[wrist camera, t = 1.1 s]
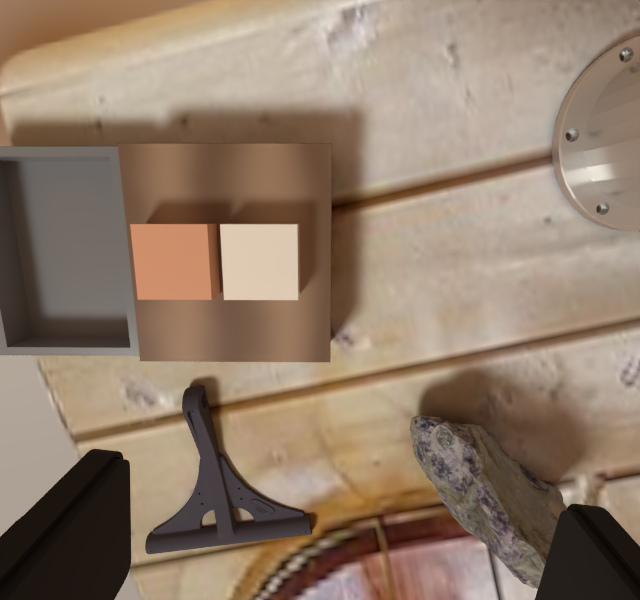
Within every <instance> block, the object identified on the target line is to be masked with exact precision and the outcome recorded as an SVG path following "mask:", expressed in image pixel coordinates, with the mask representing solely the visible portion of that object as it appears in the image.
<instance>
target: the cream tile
mask: <svg viewBox="0 0 640 600" xmlns="http://www.w3.org/2000/svg"><path fill="white" fill-rule="evenodd" d="M220 234H221V253H222V272H223V291H224V300H298V299H299V296H300V224H220Z"/></svg>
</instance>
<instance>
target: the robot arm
mask: <svg viewBox="0 0 640 600" xmlns="http://www.w3.org/2000/svg"><path fill="white" fill-rule="evenodd" d="M566 135H567V139H566ZM552 161H553V166H554V171H555V176H556V179H557V181H558V184H559V186H560V188H561V191H562V193H563V194H564V196H565V197H566V198H567V200H568V201H569V203H570V204H571V205H572V207H574V208H575V209H576V210H577V211H578V212H579V213H580V214H581V215H582V216H584V217H585V218H587V219H589V220H591V221H592V222H594V223H596V224H598V225H601V226H604V227H607V228H611V229H616V230H626V231H640V35H638V36H635V37H633V38H631V39H629V40H627V41H625V42H623V43H621V44H619V45H617V46H616V47H614V48H613V49H611V50H609V51H608V52H606V53H605V54H603V55H602V56H600V57H599V58H598V59H597V60H596V61H594V62H593V63H592V64H591V65H590V66H589V67H588V68H587V69H586V70H585V71H584V72H583V73H582V74H581V76H580V77H579V78H578V79H577V81H576V82H575V83H574V84H573V86H572V87H571V89H570V91H569V92H568V94H567V96H566V98H565V100H564V102H563V103H562V105H561V108H560V111H559V114H558V117H557V120H556V122H555V127H554V133H553V139H552ZM596 208H597V210H596ZM130 564H131V516H130V464H129V461H128V460H123V455H122V453H121V452H118V451H109V450H100V449H92V450H90V451H89V452H88V453H87V454H86V455H85V456H84V457H83V458H82V459H81V460H80V461H79V462H78V463H77V464H76V465H75V466H73V467H72V468H71V469H70V471H68V472H67V474H65V475H64V476H63V477H62V478H61V479H60V480H59V481H58V482H57V483H56V484H55V485H54V486H53V487H52V488H51V489H50V490H49V491H48V492H47V493H46V494H45V495H44V496H43V497H42V498H41V499H40V500H39V501H38V502H37V503H36V504H35V505H34V506H33V507H32V508H31V509H30V510H29V511H28V512H27V513H26V514H25V515H24V516H22V517H21V518H20V519H19V520H18V521H16V522H15V523H14V524H13V525H12V526H11V527H10V528H9V529H8V530H7V531H6V532H5V533H4V534H3V535H2V536H1V537H0V600H114V599H115V597H116V595H117V593H118V592H119V590H120V588H121V587H122V585H123V583H124V581H125V579H126V577H127V574H128V572H129V568H130ZM535 600H640V547H639V545H638V544H637V543H636V542H635V541H634V540H633V539H632V538H631V537H630V535H629V534H628V533H627V532H626V531H625V530H624V529H623V528H622V527H621V525H620V524H619V523H618V522H617V521H616V520H615V519H614V518H613V517H612V515H611V514H610V513H609V512H608V511H607V510H605V509H604V508H602V507H598V506H589V505H581V504H571V505H570V506H568V508H567V510H564V511H562V512H561V513H560V516H559V519H558V522H557V526H556V529H555V533H554V536H553V539H552V543H551V546H550V550H549V553H548V557H547V560H546V563H545V567H544V570H543V574H542V577H541V581H540V584H539V588H538V591H537V594H536V598H535Z"/></svg>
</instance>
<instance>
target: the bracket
mask: <svg viewBox="0 0 640 600" xmlns="http://www.w3.org/2000/svg"><path fill="white" fill-rule="evenodd" d="M182 409H183V414H184V417H185V419H186V421H187V423H188V426H189V428H190V431H191V433H192V436H193V438H194V441H195V443H196V446H197V448H198V451H199V454H200V458H201V459H200V465H199V476H198V480H197V484H196V487H195V489H194V492H193V495H192V496H191V498H190V499H189V500H188V502H187V503H186V504H185V506H184V507H183V508H182V509H181V510H180V511H179V512H178V513H177V514H176V515H175V516H173V517H172V518H171V519H169V520H168V521H166V522H165V523H163V524H162V525H160V526H158V527H156V528H155V529H154V530H153V532H152V533H151V534H149V535H148V536H147V539H146V546H145V547H146V553H147V554H155V553H163V552H171V551H179V550H188V549H196V548H204V547H212V546H220V545H228V544H236V543H245V542H253V541H261V540H269V539H277V538H285V537H293V536H301V535H310V534H312V527H311V526H310V519H309V517H310V514H307V515H305V514H304V512H303V511H301V510H297V509H293V508H289V507H286V506H283V505H280V504H277V503H275V502H273V501H271V500H268V499H267V498H265V497H263V496H261V495H260V494H258V493H257V492H255V491H254V490H252V489H251V488H249V487H248V486H246V485H245V484H244V483H243V482H242V480H241V479H240V478H239V477H238V476H237V475H236V474H235V473H234V471H233V470H232V469H231V467H230V465H229V464H228V462H227V461H226V459H225V457H224V456H223V455H220V453H219V449H218V444H217V440H216V436H215V431H214V427H213V423H212V418H211V414H210V410H209V405H208V401H207V397H206V392H205V388H204V386H198V387H191V388H187V389H186V390H185V392H184V395H183V401H182ZM232 507H239V508H242V509H245V510H246V511H248V512H249V513H250V514H251V515H252V516H253V518H254V519H255V521H250V522H236V520H235V517H234V514H233V510H232ZM210 510H214V512H215V518H216V523H217V525H216V526H208V527H201V519H202V517H203V516H204V514H206V513H207V512H208V511H210Z"/></svg>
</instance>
